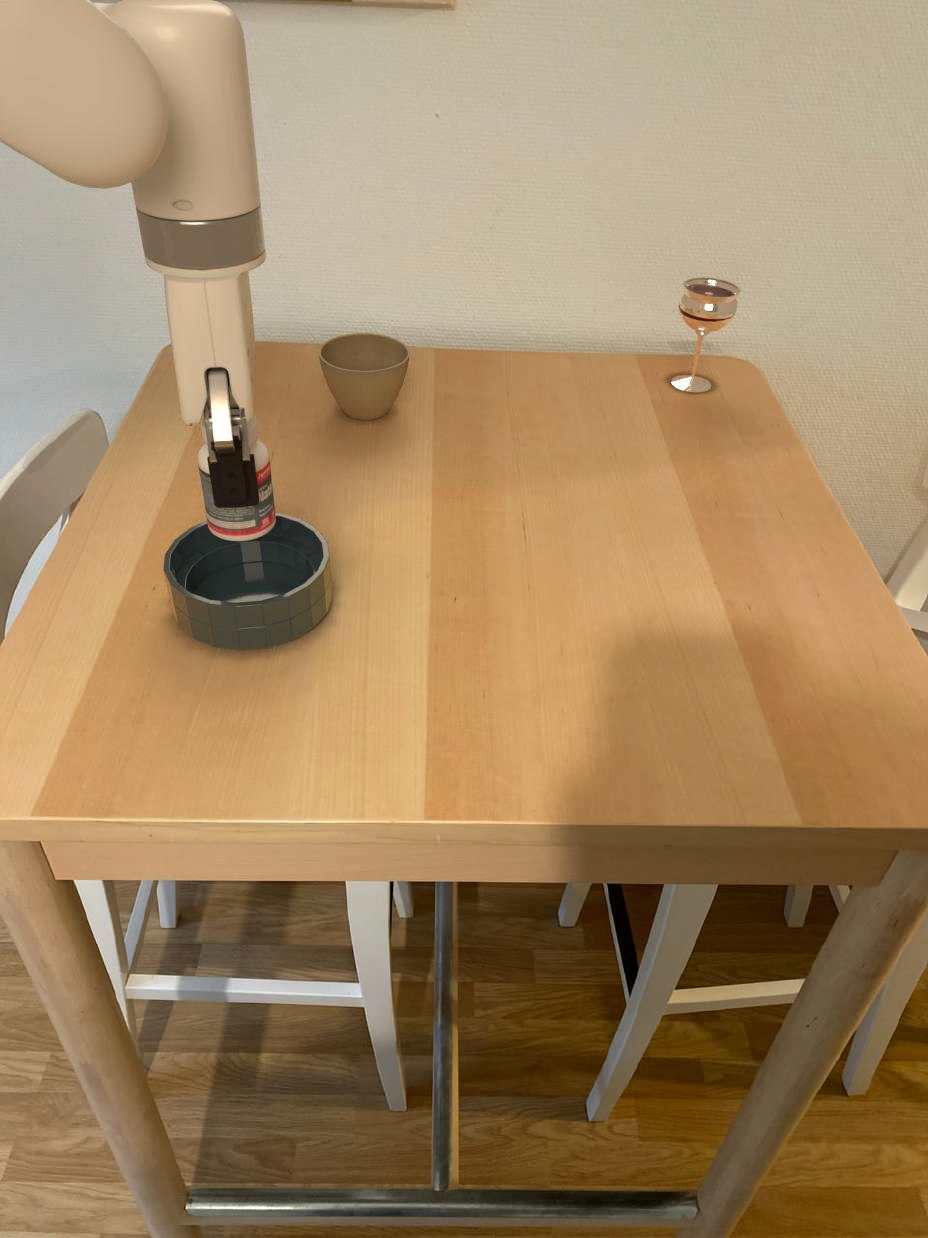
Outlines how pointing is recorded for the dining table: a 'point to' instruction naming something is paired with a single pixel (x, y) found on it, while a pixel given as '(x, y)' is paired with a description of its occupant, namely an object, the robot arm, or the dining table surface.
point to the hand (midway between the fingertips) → (237, 481)
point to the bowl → (249, 584)
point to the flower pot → (364, 372)
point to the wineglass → (705, 319)
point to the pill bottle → (248, 518)
